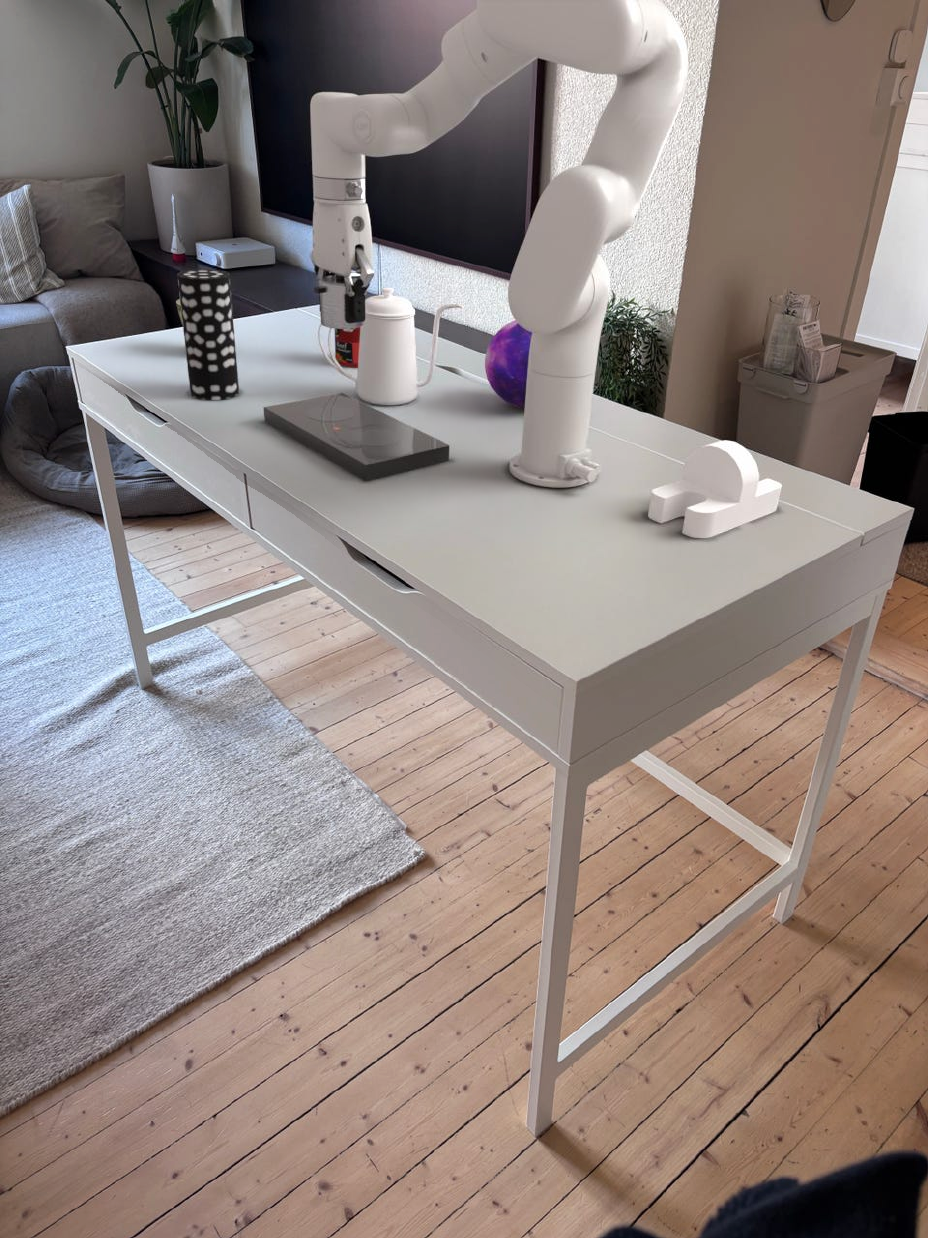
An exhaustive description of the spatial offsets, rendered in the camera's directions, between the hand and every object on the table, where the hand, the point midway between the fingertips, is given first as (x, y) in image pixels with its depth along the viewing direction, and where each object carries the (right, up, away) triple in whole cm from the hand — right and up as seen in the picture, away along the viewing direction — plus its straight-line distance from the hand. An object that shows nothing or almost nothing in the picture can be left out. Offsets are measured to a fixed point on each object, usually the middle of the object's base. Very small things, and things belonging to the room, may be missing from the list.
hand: (342, 315), depth 144 cm
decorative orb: (+30, -9, +22) cm, 38 cm away
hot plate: (+1, -19, +3) cm, 19 cm away
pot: (0, -1, +1) cm, 1 cm away
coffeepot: (+6, -7, +23) cm, 24 cm away
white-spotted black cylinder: (-25, -7, +21) cm, 33 cm away
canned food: (-3, +4, +41) cm, 41 cm away
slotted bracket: (+53, -32, -15) cm, 64 cm away
